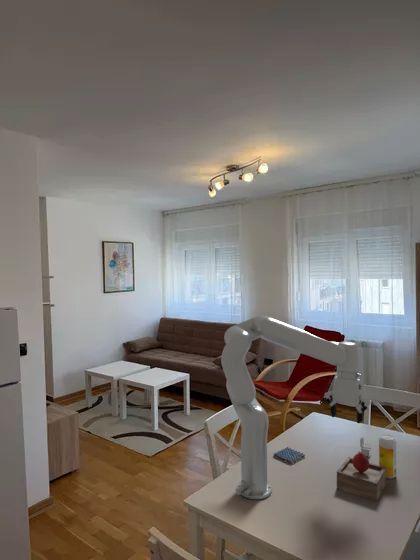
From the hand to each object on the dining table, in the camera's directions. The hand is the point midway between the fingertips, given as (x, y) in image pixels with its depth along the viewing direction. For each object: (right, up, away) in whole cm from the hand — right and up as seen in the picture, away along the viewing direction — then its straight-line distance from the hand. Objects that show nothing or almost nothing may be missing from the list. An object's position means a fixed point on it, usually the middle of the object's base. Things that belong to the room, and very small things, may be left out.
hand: (346, 419), depth 145 cm
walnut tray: (+5, -24, -3) cm, 24 cm away
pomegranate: (+4, -19, -3) cm, 20 cm away
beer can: (+18, -24, +4) cm, 30 cm away
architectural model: (+21, -24, +24) cm, 40 cm away
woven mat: (-18, -25, +20) cm, 36 cm away
